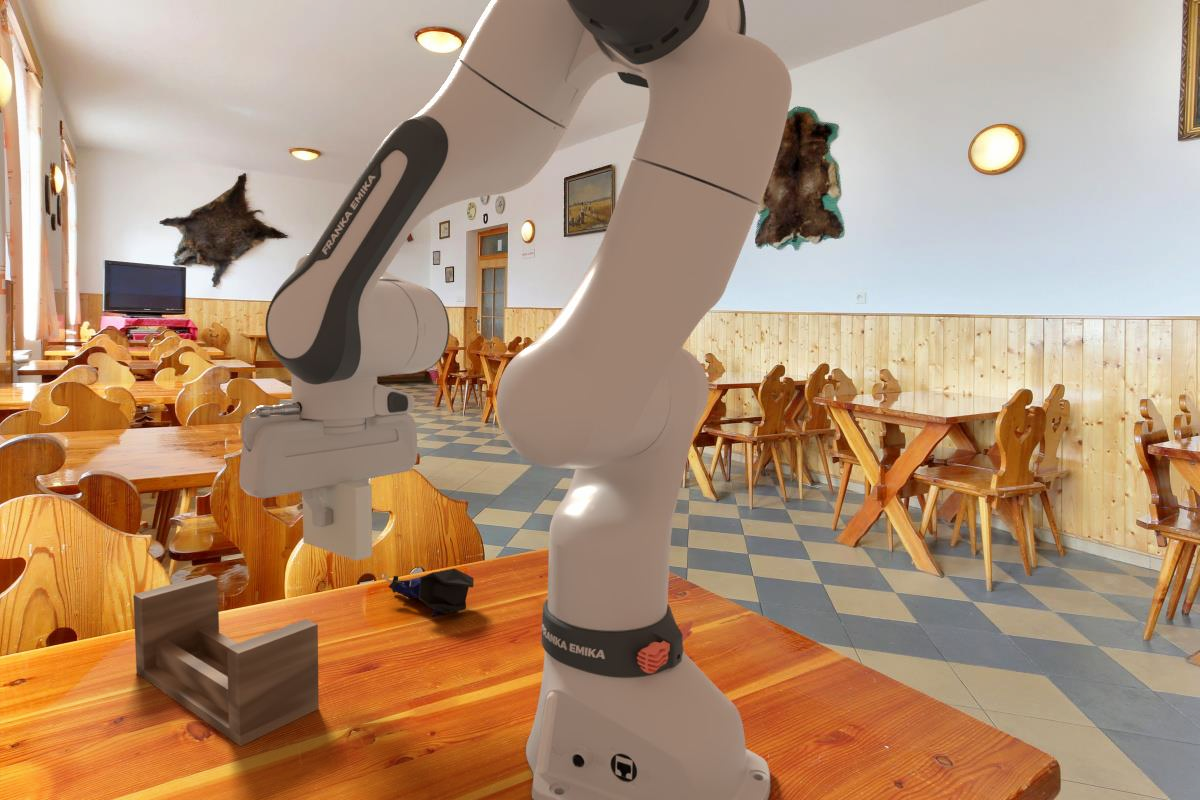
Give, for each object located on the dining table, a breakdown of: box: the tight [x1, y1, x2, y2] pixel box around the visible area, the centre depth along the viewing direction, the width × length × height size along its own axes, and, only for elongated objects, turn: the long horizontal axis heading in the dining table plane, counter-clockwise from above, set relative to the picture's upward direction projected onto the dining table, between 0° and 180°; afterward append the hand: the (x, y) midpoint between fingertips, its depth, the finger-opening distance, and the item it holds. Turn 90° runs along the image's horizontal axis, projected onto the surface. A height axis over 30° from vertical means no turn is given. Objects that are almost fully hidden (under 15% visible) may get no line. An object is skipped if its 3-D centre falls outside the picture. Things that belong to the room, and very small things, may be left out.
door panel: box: [302, 481, 373, 562], centre depth 77 cm, size 10×2×8 cm, turn 55°
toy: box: [381, 568, 475, 617], centre depth 96 cm, size 9×6×15 cm
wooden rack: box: [133, 574, 320, 747], centre depth 73 cm, size 22×8×9 cm, turn 55°
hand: (336, 522), depth 77 cm, fingers closed on door panel, 2 cm apart
